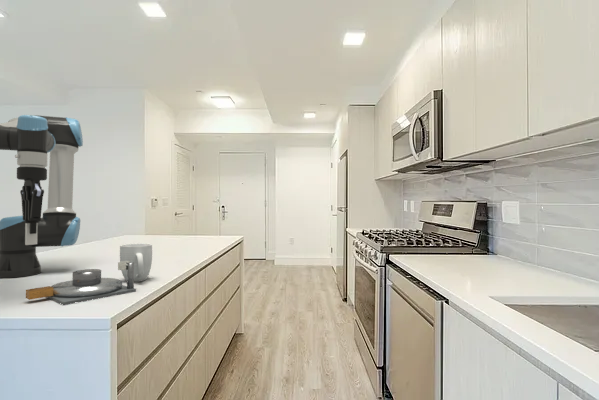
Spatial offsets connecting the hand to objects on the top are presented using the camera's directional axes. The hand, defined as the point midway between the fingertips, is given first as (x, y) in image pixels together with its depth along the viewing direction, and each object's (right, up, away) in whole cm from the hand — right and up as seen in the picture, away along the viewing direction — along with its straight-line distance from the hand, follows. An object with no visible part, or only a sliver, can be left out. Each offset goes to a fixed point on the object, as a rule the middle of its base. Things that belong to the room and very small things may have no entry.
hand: (31, 244), depth 114 cm
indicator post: (+25, -16, +8) cm, 30 cm away
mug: (+22, -16, +23) cm, 36 cm away
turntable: (+12, -15, +3) cm, 19 cm away
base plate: (+14, -16, +5) cm, 22 cm away
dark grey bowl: (+14, -13, +6) cm, 20 cm away
